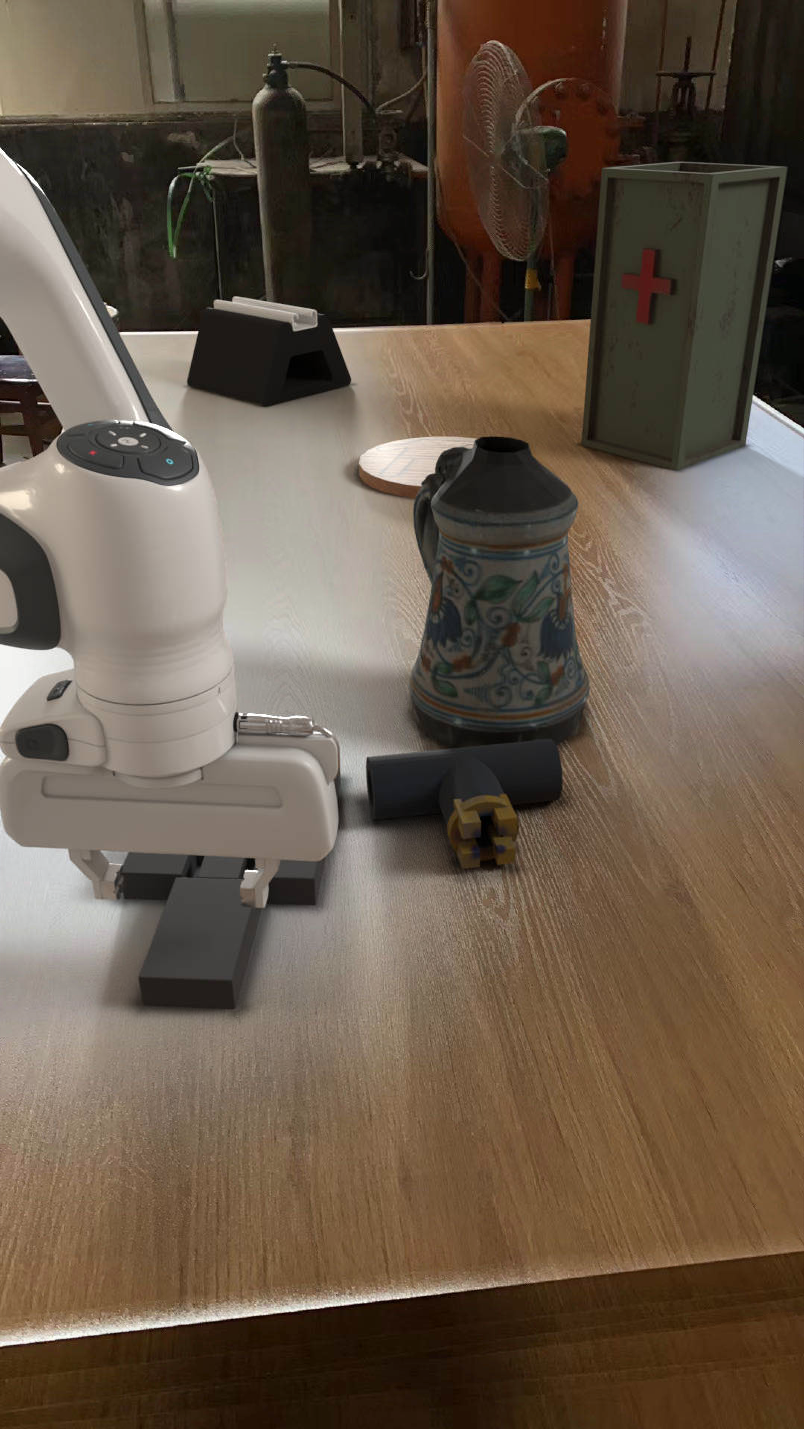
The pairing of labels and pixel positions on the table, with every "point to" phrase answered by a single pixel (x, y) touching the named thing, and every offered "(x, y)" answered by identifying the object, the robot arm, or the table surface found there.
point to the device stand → (266, 352)
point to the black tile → (201, 940)
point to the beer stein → (497, 600)
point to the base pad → (158, 871)
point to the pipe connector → (468, 791)
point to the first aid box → (679, 308)
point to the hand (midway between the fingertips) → (182, 897)
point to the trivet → (405, 463)
